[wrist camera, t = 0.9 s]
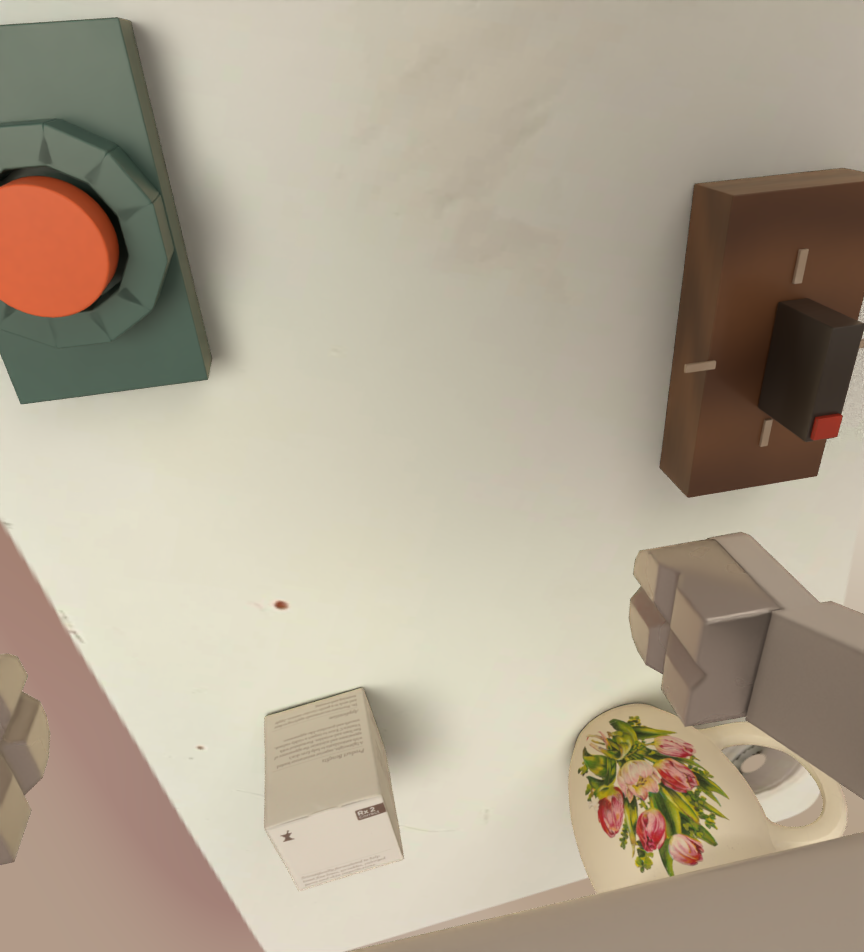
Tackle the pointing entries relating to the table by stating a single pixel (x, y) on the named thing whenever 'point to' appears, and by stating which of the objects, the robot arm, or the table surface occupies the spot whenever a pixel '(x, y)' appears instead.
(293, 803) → the product carton
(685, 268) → the dial panel
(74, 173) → the button block
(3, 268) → the release button
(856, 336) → the dark brown box
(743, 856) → the pitcher
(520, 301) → the table surface
